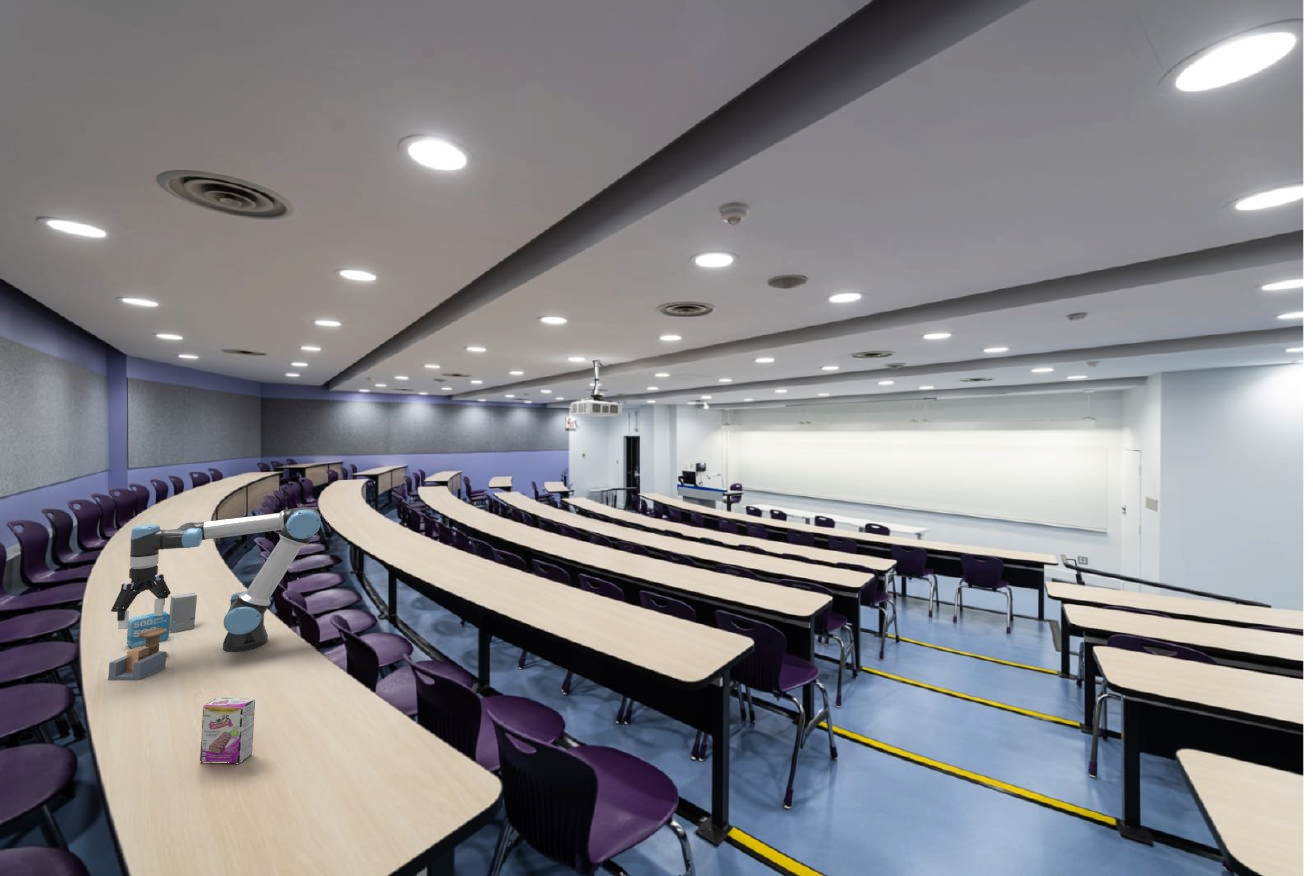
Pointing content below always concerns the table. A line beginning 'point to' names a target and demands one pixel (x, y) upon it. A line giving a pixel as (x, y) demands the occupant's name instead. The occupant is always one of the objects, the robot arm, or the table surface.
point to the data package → (146, 628)
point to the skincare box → (182, 612)
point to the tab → (135, 657)
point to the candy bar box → (227, 730)
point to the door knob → (152, 639)
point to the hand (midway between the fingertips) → (141, 622)
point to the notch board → (137, 667)
